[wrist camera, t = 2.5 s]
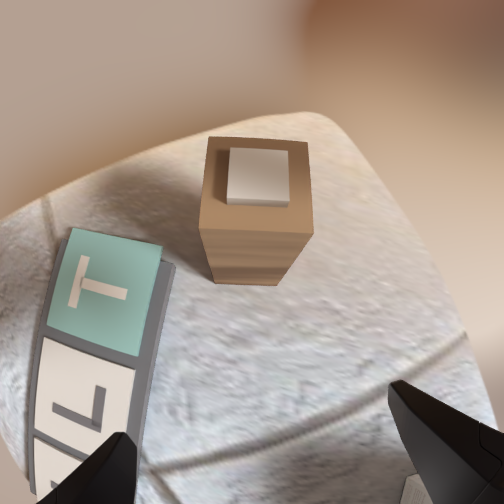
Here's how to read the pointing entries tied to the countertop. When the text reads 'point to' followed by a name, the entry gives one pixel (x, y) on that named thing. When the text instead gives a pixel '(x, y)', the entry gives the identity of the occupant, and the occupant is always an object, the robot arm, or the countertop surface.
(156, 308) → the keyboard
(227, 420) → the countertop surface
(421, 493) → the supplement box
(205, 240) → the brown wooden block
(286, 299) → the countertop surface
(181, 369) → the countertop surface
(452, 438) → the robot arm
